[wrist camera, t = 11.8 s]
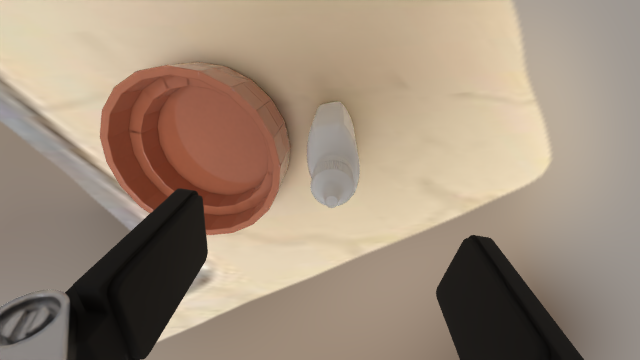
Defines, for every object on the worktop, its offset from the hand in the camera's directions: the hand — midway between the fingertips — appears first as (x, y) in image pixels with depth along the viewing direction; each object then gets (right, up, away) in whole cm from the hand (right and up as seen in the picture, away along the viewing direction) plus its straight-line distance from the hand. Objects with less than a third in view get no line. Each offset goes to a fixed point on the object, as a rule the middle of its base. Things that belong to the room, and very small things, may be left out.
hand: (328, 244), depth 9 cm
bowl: (-10, +6, +16) cm, 19 cm away
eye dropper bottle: (+1, +7, +14) cm, 16 cm away
